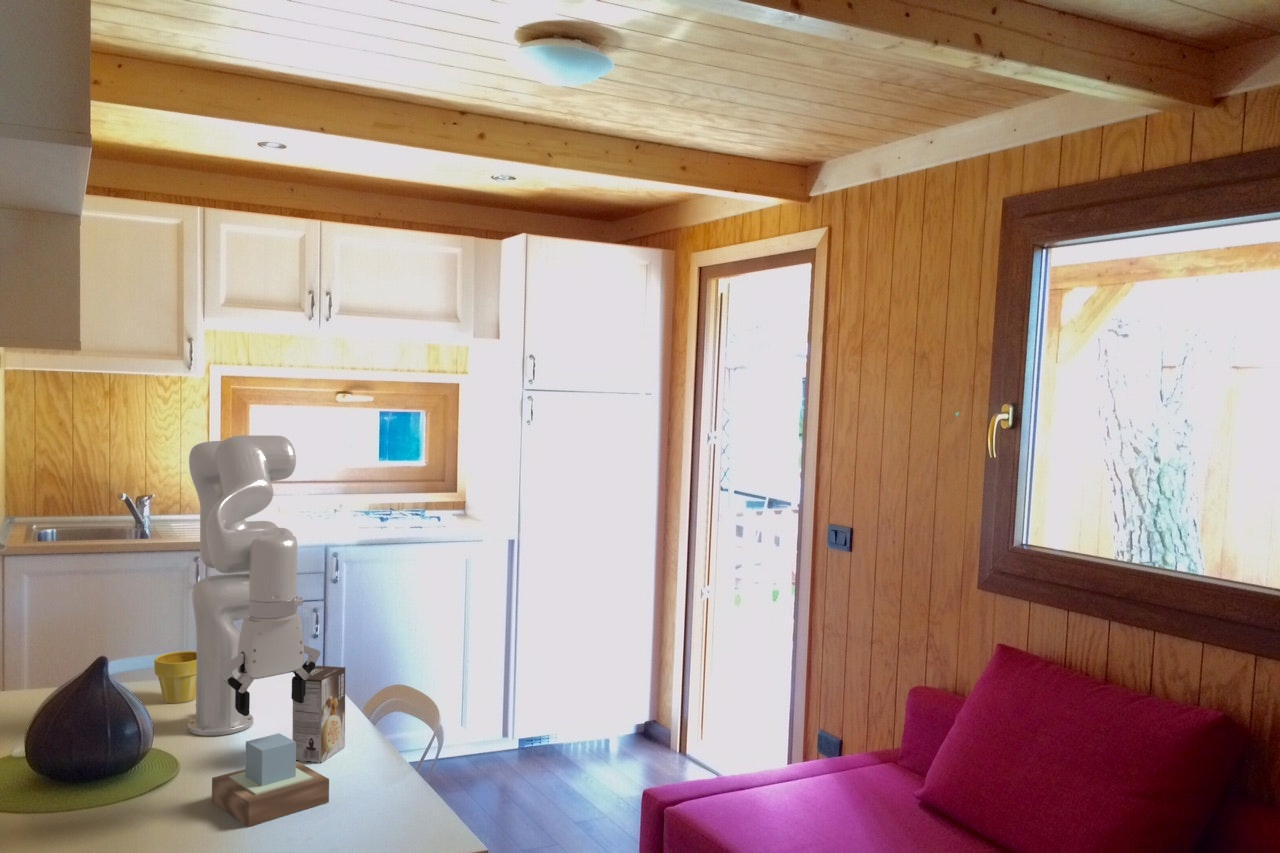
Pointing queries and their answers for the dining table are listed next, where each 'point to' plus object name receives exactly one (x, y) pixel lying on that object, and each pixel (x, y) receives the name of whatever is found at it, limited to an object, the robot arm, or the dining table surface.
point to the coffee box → (320, 715)
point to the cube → (270, 759)
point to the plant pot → (177, 676)
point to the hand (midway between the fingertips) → (270, 707)
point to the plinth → (269, 795)
